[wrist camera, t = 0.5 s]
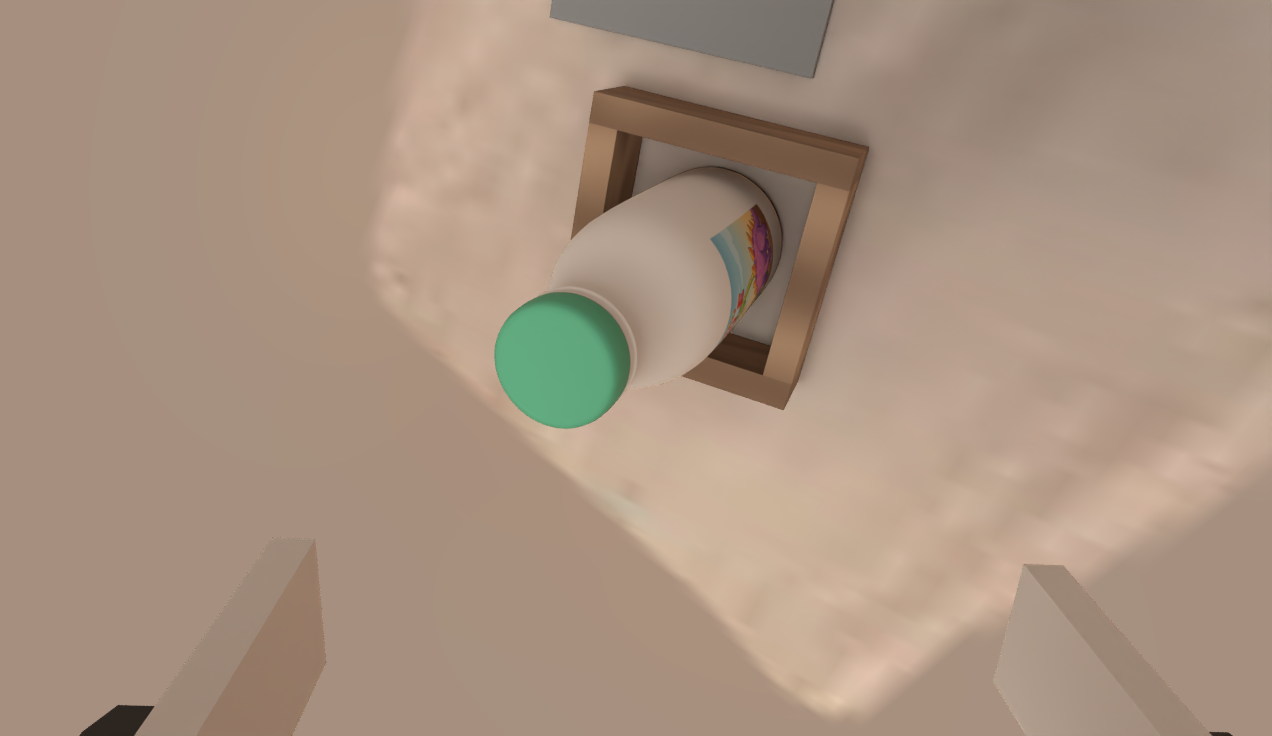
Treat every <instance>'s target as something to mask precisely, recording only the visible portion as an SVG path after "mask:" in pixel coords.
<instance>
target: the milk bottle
mask: <svg viewBox="0 0 1272 736" xmlns="http://www.w3.org/2000/svg"><path fill="white" fill-rule="evenodd" d="M781 249H782V234H781V227H780V223H779V220H778V217H777V214H776V212H775V209H774V207H773V206H772V204H771V202H770V201H769V199H768V198H767V196H766V195H765V194H764V193H763V192H762V190H761V189H760V188H759V187H758V186H756V185H755V184H754V183H753V182H751V181H750V180H749V179H747V178H746V177H744V176H742V175H740V174H738V173H736V172H733V171H730V170H727V169H723V168H716V167H702V168H696V169H692V170H688V171H686V172H683V173H680V174H678V175H675V176H673V177H671V178H669V179H667V180H665V181H663V182H661V183H659V184H657V185H655V186H653V187H651V188H649V189H647V190H646V191H644V192H642V193H640V194H638V195H636V196H634V197H632V198H630V199H628V200H626V201H624V202H623V203H621V204H619V205H617V206H615V207H613V208H611V209H610V210H608V211H607V212H605V213H603V214H602V215H600V216H599V217H597V218H596V219H594V220H593V221H591V222H590V223H588V224H587V225H586V226H585V227H584V228H583V229H582V230H581V231H579V232H578V233H577V234H576V235H575V236H574V237H573V239H572V240H571V241H570V242H569V244H568V245H567V246H566V248H565V249H564V251H563V252H562V254H561V255H560V257H559V259H558V261H557V263H556V265H555V268H554V270H553V273H552V276H551V279H550V283H549V288H548V290H547V291H545V292H543V293H542V294H540V295H539V296H537V297H536V298H534V299H532V300H530V301H529V302H527V303H525V304H524V305H522V306H521V307H520V308H518V309H517V310H516V311H515V312H513V313H512V314H511V315H510V316H509V317H508V319H507V320H506V321H505V323H504V325H503V326H502V328H501V330H500V332H499V334H498V337H497V340H496V345H495V366H496V371H497V375H498V377H499V380H500V383H501V385H502V387H503V389H504V391H505V392H506V394H507V395H508V397H509V398H510V399H511V401H512V402H513V403H514V404H515V405H516V406H517V407H518V408H519V409H520V410H521V411H522V412H523V413H524V414H526V415H527V416H529V417H530V418H532V419H533V420H535V421H537V422H539V423H541V424H544V425H547V426H550V427H555V428H564V429H567V428H576V427H580V426H583V425H586V424H589V423H591V422H593V421H595V420H597V419H598V418H600V417H601V416H602V415H603V414H604V413H606V412H607V411H608V410H609V409H610V408H611V407H612V406H613V405H614V404H615V402H616V401H617V400H618V399H619V398H620V397H621V396H622V395H623V394H624V393H625V392H626V391H627V389H628V388H646V387H652V386H656V385H660V384H664V383H666V382H669V381H671V380H674V379H676V378H678V377H680V376H682V375H684V374H685V373H687V372H688V371H690V370H691V369H693V368H694V367H696V366H697V365H698V364H700V363H701V362H702V361H703V360H704V359H705V358H706V357H707V356H708V355H709V354H710V353H711V352H712V351H713V350H714V349H715V348H716V347H717V346H718V345H719V344H720V343H721V342H722V340H723V339H724V338H725V337H726V336H727V334H728V333H729V332H730V331H731V330H732V328H733V327H734V326H735V325H736V324H737V322H738V321H739V320H740V319H741V317H742V316H743V315H744V314H745V313H746V311H747V310H748V309H749V308H750V306H751V305H752V304H753V303H754V301H755V300H756V299H757V298H758V296H759V295H760V294H761V292H762V291H763V290H764V289H765V287H766V286H767V284H768V283H769V281H770V280H771V278H772V277H773V275H774V273H775V271H776V269H777V266H778V263H779V260H780V255H781Z"/></svg>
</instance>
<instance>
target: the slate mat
mask: <svg viewBox="0 0 1272 736" xmlns="http://www.w3.org/2000/svg"><path fill="white" fill-rule="evenodd" d="M833 2H834V0H552V4H551V12H550V18H555V19H559V20H563V21H567V22H572V23H576V24H580V25H585V26H589V27H593V28H597V29H602V30H606V31H610V32H615V33H619V34H623V35H628V36H632V37H636V38H640V39H645V40H649V41H653V42H658V43H662V44H666V45H670V46H675V47H679V48H683V49H688V50H692V51H696V52H700V53H705V54H709V55H713V56H718V57H722V58H726V59H730V60H735V61H739V62H743V63H748V64H752V65H756V66H760V67H765V68H769V69H773V70H778V71H782V72H786V73H790V74H795V75H799V76H803V77H808V78H813V77H814V73H815V70H816V66H817V62H818V58H819V55H820V51H821V47H822V43H823V40H824V36H825V32H826V28H827V25H828V21H829V17H830V13H831V9H832V6H833Z"/></svg>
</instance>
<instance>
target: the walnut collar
mask: <svg viewBox="0 0 1272 736" xmlns="http://www.w3.org/2000/svg"><path fill="white" fill-rule="evenodd" d="M642 137H645V138H649V139H653V140H656V141H660V142H664V143H668V144H672V145H675V146H679V147H683V148H687V149H691V150H694V151H698V152H702V153H706V154H709V155H713V156H717V157H721V158H725V159H728V160H732V161H736V162H740V163H744V164H747V165H751V166H755V167H759V168H762V169H766V170H770V171H774V172H778V173H781V174H785V175H789V176H793V177H797V178H800V179H804V180H808V181H812V182H815V183H817V185H816V189H815V192H814V196H813V199H812V203H811V207H810V210H809V214H808V217H807V221H806V224H805V228H804V231H803V235H802V238H801V242H800V245H799V249H798V253H797V256H796V260H795V263H794V267H793V270H792V274H791V277H790V281H789V284H788V288H787V291H786V295H785V298H784V302H783V306H782V309H781V313H780V316H779V320H778V323H777V327H776V330H775V334H774V337H773V341H772V344H771V346H768V345H765V344H761V343H758V342H755V341H752V340H749V339H746V338H743V337H739V336H736V335H733V334H730V333H728V334H727V336H726V337H725V338H724V339H723V340H722V342H721V343H720V344H719V345H718V346H717V347H716V348H715V349H714V350H713V351H712V352H711V353H710V354H709V355H708V356H707V357H706V358H705V359H704V360H703V361H702V362H701V363H700V364H698V365H697V366H696V367H694V368H693V369H691V370H690V371H688V372H687V373H685V374H684V375H682V376H683V377H686V378H689V379H692V380H695V381H698V382H701V383H704V384H707V385H710V386H713V387H716V388H719V389H722V390H725V391H728V392H731V393H734V394H737V395H740V396H743V397H746V398H749V399H752V400H755V401H758V402H761V403H764V404H766V405H769V406H772V407H775V408H778V409H781V410H784V408H785V406H786V404H787V402H788V400H789V398H790V396H791V394H792V392H793V390H794V388H795V386H796V384H797V382H798V379H799V376H800V373H801V369H802V366H803V363H804V360H805V356H806V353H807V350H808V346H809V343H810V340H811V337H812V333H813V330H814V327H815V323H816V320H817V317H818V314H819V310H820V307H821V304H822V300H823V297H824V294H825V291H826V287H827V284H828V281H829V277H830V274H831V271H832V268H833V264H834V261H835V258H836V254H837V251H838V248H839V245H840V241H841V238H842V235H843V231H844V228H845V225H846V222H847V218H848V215H849V212H850V208H851V205H852V202H853V199H854V195H855V192H856V189H857V185H858V182H859V179H860V176H861V172H862V169H863V166H864V162H865V159H866V156H867V153H868V149H869V147H866V146H862V145H858V144H854V143H850V142H846V141H842V140H838V139H834V138H830V137H826V136H822V135H818V134H814V133H810V132H806V131H802V130H798V129H794V128H790V127H786V126H782V125H778V124H774V123H770V122H766V121H762V120H758V119H754V118H750V117H746V116H742V115H738V114H734V113H730V112H726V111H722V110H718V109H714V108H710V107H706V106H702V105H698V104H694V103H690V102H686V101H682V100H678V99H674V98H670V97H666V96H662V95H658V94H654V93H650V92H646V91H642V90H638V89H634V88H630V87H626V86H622V87H616V88H611V89H605V90H599V91H594V95H593V102H592V108H591V115H590V121H589V127H588V134H587V140H586V146H585V153H584V159H583V165H582V172H581V178H580V185H579V191H578V197H577V204H576V210H575V216H574V223H573V229H572V235H571V240H572V239H573V237H574V236H575V235H576V234H577V233H578V232H579V231H581V230H582V229H583V228H584V227H585V226H586V225H587V224H588V223H590V222H591V221H593V220H594V219H596V218H597V217H599V216H600V215H602V214H603V213H605V212H607V211H608V210H610V209H611V208H613V207H615V206H617V205H619V204H621V203H623V202H624V201H626V200H628V199H630V198H631V196H632V190H633V185H634V180H635V174H636V169H637V163H638V158H639V153H640V147H641V142H642Z"/></svg>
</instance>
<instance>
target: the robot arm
mask: <svg viewBox="0 0 1272 736" xmlns="http://www.w3.org/2000/svg"><path fill="white" fill-rule="evenodd" d="M325 664H326V653H325V642H324V631H323V619H322V608H321V597H320V586H319V575H318V563H317V552H316V540H315V539H300V538H274V537H273V538H272V539H271V540H270V542H269V543H268V545H267V546H266V547H265V549H264V550H263V552H262V553H261V554H260V556H259V558H258V559H257V560H256V562H255V563H254V565H253V566H252V568H251V569H250V570H249V572H248V573H247V575H246V576H245V577H244V579H243V581H242V582H241V583H240V585H239V586H238V587H237V589H236V590H235V592H234V593H233V595H232V596H231V598H230V599H229V600H228V602H227V603H226V605H225V606H224V608H223V609H222V610H221V612H220V613H219V615H218V616H217V618H216V619H215V620H214V622H213V623H212V625H211V626H210V628H209V629H208V631H207V632H206V633H205V635H204V636H203V638H202V639H201V641H200V642H199V643H198V645H197V646H196V648H195V650H194V651H193V652H192V654H191V655H190V656H189V658H188V659H187V661H186V662H185V664H184V665H183V666H182V668H181V669H180V671H179V672H178V674H177V675H176V676H175V678H174V679H173V681H172V682H171V684H170V685H169V687H168V688H167V689H166V691H165V692H164V694H163V695H162V697H161V698H160V699H159V701H158V702H157V704H156V705H155V706H127V705H118V706H116V707H115V708H114V709H112V710H111V711H110V712H108V713H107V714H106V715H104V716H103V717H102V718H100V719H99V720H97V721H96V722H95V723H93V724H92V725H91V726H89V727H88V728H87V729H85V730H84V731H83V732H82V733H81V734H80V736H292V735H293V732H294V731H295V728H296V726H297V724H298V722H299V720H300V718H301V715H302V713H303V711H304V709H305V707H306V705H307V703H308V701H309V698H310V696H311V694H312V692H313V690H314V688H315V686H316V683H317V681H318V679H319V677H320V675H321V673H322V671H323V668H324V666H325ZM993 682H994V684H995V686H996V687H997V689H998V691H999V692H1000V694H1001V696H1002V697H1003V699H1004V700H1005V702H1006V704H1007V706H1008V707H1009V709H1010V710H1011V712H1012V714H1013V716H1014V717H1015V719H1016V721H1017V722H1018V724H1019V725H1020V727H1021V729H1022V730H1023V732H1024V734H1025V735H1026V736H1232V735H1231V734H1230V733H1227V732H1225V733H1224V732H1208V730H1206V728H1205V727H1204V726H1203V725H1202V724H1201V722H1200V721H1199V720H1198V719H1197V718H1196V717H1195V716H1194V714H1193V713H1192V712H1191V711H1190V710H1189V709H1188V708H1187V706H1186V705H1185V704H1184V703H1183V702H1182V701H1181V700H1180V699H1179V697H1178V696H1177V695H1176V694H1175V693H1174V692H1173V690H1172V689H1171V688H1170V687H1169V686H1168V685H1167V684H1166V682H1165V681H1164V680H1163V679H1162V678H1161V677H1160V676H1159V674H1158V673H1157V672H1156V671H1155V670H1154V669H1153V668H1152V666H1151V665H1150V664H1149V663H1148V662H1147V661H1146V660H1145V659H1144V657H1143V656H1142V655H1141V654H1140V653H1139V652H1138V651H1137V649H1136V648H1135V647H1134V646H1133V645H1132V644H1131V642H1130V641H1129V640H1128V639H1127V638H1126V637H1125V636H1124V634H1123V633H1122V632H1121V631H1120V630H1119V629H1118V628H1117V626H1116V625H1115V624H1114V623H1113V622H1112V621H1111V620H1110V619H1109V617H1108V616H1107V615H1106V614H1105V613H1104V612H1103V610H1101V608H1100V607H1099V606H1098V605H1097V604H1096V602H1095V601H1094V600H1093V599H1092V598H1091V597H1090V596H1089V594H1088V593H1087V592H1086V591H1085V590H1084V589H1083V587H1082V586H1081V585H1080V584H1079V583H1078V582H1077V581H1076V579H1075V578H1074V577H1073V576H1072V575H1071V574H1070V573H1069V571H1068V570H1067V569H1066V568H1065V567H1064V566H1060V565H1032V564H1024V565H1023V569H1022V573H1021V577H1020V580H1019V584H1018V588H1017V592H1016V596H1015V600H1014V603H1013V607H1012V611H1011V615H1010V619H1009V623H1008V627H1007V630H1006V634H1005V638H1004V642H1003V646H1002V650H1001V653H1000V657H999V661H998V665H997V669H996V673H995V677H994V680H993Z"/></svg>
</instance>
